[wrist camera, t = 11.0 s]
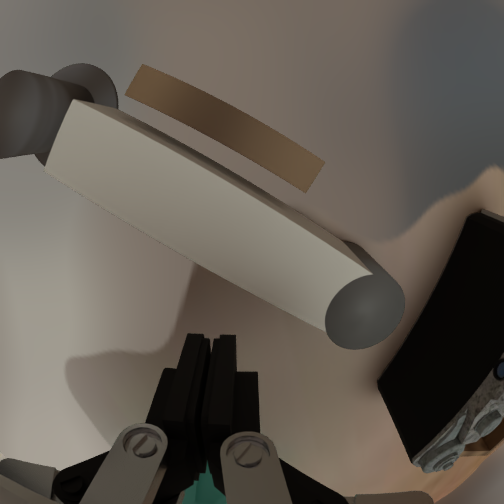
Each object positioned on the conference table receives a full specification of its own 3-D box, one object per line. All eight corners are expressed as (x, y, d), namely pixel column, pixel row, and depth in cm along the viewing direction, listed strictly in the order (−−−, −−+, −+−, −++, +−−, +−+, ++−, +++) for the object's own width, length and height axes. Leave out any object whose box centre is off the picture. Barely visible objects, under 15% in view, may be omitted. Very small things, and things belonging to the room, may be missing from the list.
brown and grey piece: (309, 159, 13) (343, 166, 8) (237, 273, 15) (233, 332, 10) (66, 43, 10) (9, 19, 6) (19, 148, 12) (-43, 158, 7)
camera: (426, 393, 19) (474, 481, 10) (366, 389, 19) (411, 503, 9) (517, 235, 15) (612, 292, 5) (469, 198, 14) (599, 256, 5)
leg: (87, 167, 13) (41, 177, 9) (118, 102, 12) (76, 91, 8) (344, 314, 16) (367, 359, 12) (383, 263, 15) (419, 298, 11)
